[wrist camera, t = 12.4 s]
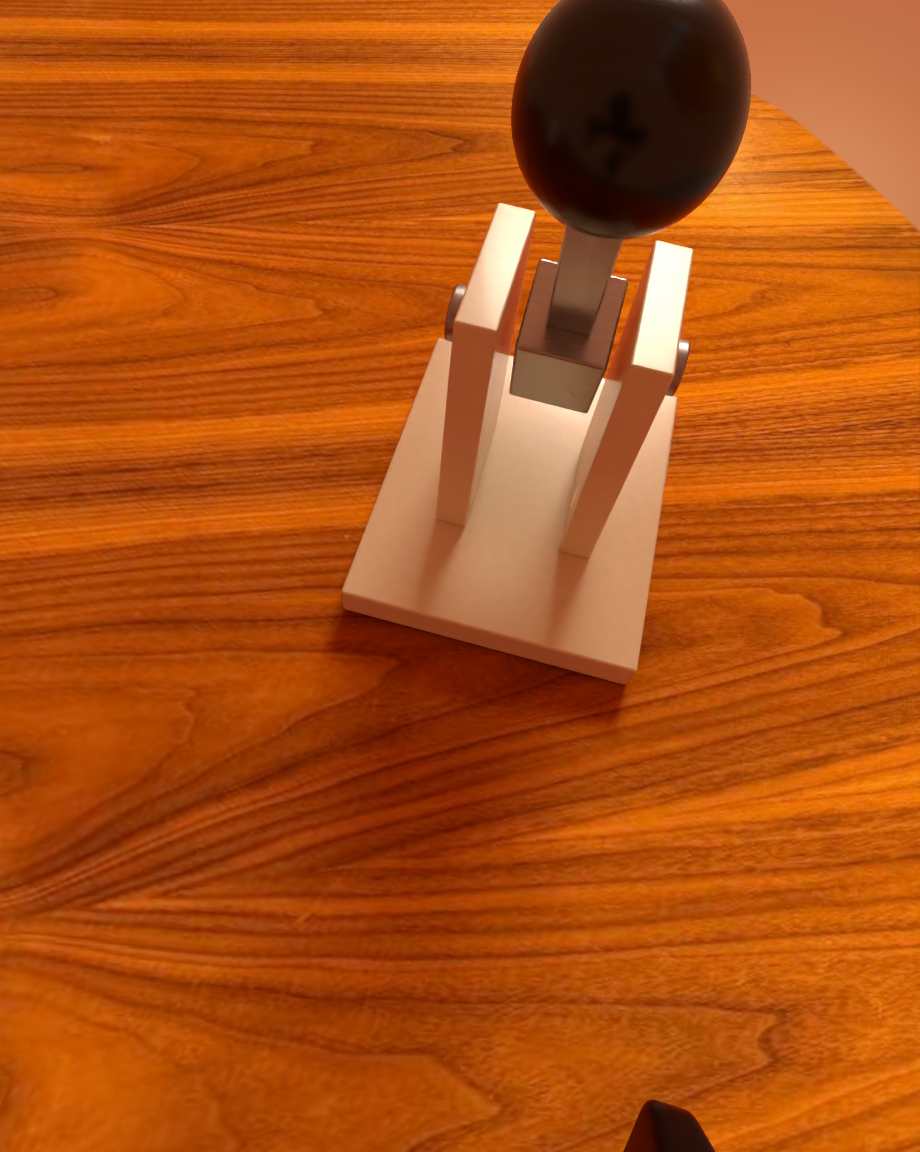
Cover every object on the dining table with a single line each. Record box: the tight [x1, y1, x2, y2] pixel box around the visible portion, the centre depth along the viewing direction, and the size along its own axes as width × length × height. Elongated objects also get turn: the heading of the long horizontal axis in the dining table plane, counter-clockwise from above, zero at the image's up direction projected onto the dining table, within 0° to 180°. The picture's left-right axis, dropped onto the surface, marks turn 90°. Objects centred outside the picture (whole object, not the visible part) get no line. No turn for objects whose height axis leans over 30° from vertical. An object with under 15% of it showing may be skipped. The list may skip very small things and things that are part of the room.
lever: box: [509, 0, 751, 413], centre depth 15 cm, size 11×4×4 cm
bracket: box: [342, 203, 694, 685], centre depth 22 cm, size 11×9×9 cm
